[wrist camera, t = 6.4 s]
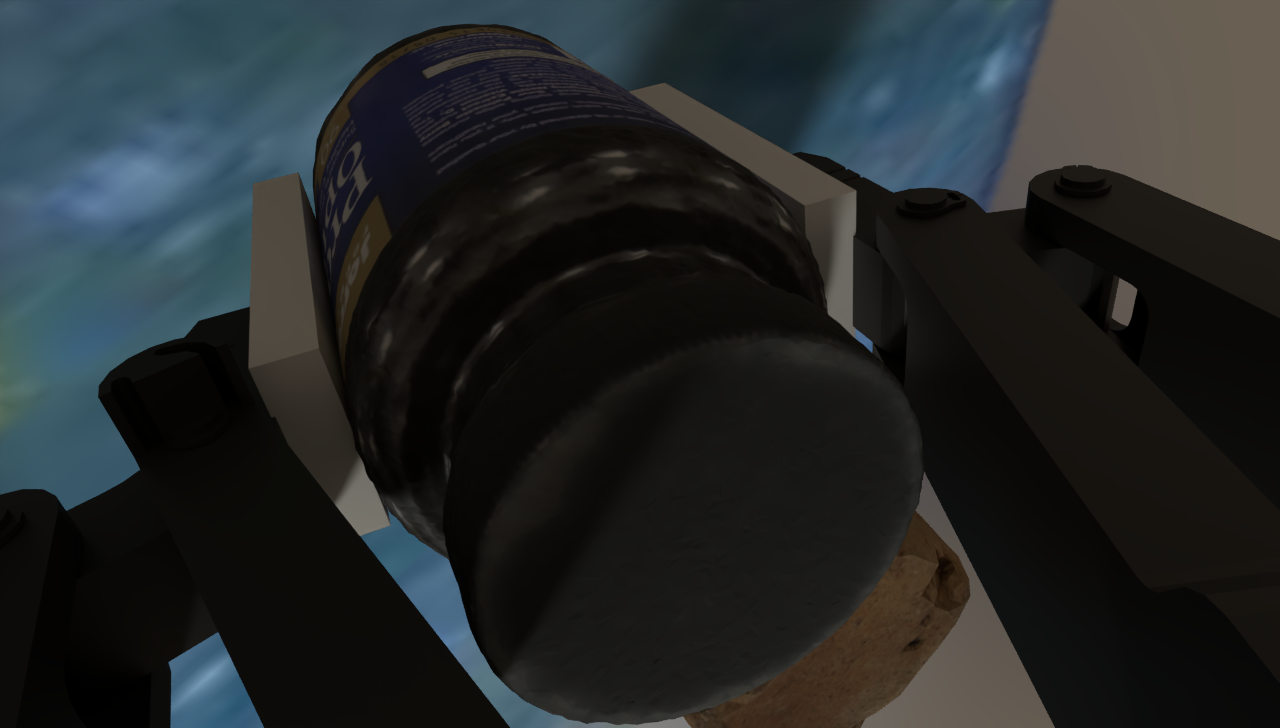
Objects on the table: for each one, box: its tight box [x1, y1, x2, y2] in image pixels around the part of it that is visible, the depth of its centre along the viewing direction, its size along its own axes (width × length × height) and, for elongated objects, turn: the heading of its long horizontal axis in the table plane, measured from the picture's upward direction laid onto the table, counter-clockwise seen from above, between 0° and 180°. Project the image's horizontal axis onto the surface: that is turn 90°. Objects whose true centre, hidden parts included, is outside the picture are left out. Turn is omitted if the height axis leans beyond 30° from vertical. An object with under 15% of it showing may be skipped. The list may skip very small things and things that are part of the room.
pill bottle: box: [313, 24, 925, 725], centre depth 12 cm, size 6×6×11 cm
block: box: [683, 511, 970, 728], centre depth 31 cm, size 11×8×20 cm
